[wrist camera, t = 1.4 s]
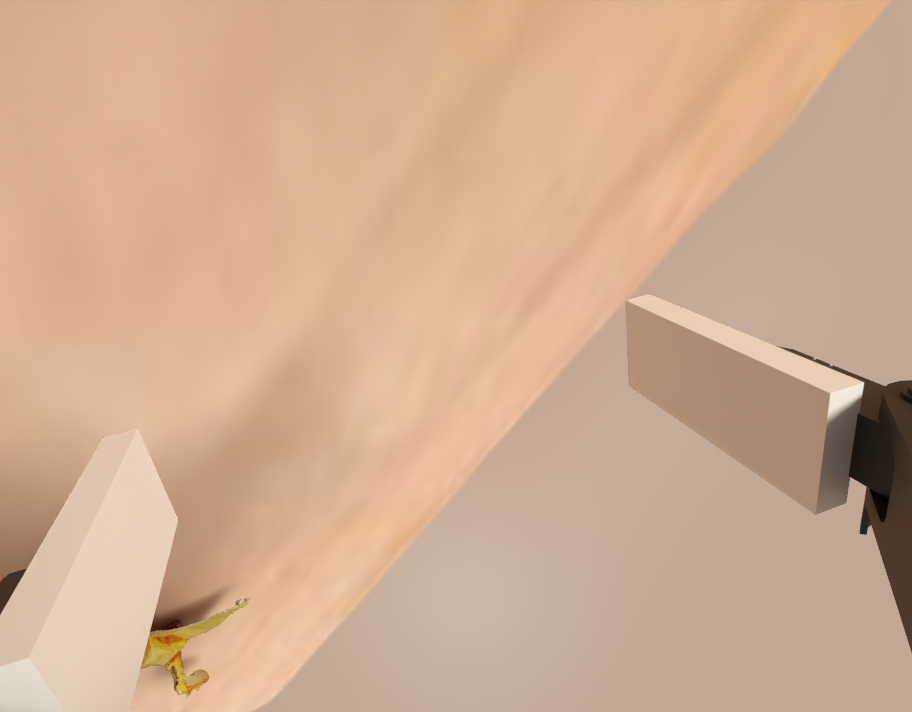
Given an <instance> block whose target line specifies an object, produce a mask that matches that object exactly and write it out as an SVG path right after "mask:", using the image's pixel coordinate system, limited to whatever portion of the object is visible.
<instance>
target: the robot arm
mask: <svg viewBox="0 0 912 712" xmlns="http://www.w3.org/2000/svg"><path fill="white" fill-rule="evenodd" d="M626 325H627V352H628V379H629V386H630V387H632V388H633V389H634V390H636V391H637V392H639V393H640V394H642V395H643V396H645V397H646V398H647V399H649V400H650V401H652V402H653V403H655V404H656V405H658V406H659V407H661V408H662V409H663V410H665V411H666V412H668V413H669V414H671V415H672V416H673V417H675V418H677V419H678V420H679V421H681V422H682V423H684V424H685V425H686V426H688V427H690V428H691V429H693V430H694V431H695V432H697V433H698V434H700V435H701V436H702V437H704V438H705V439H707V440H708V441H710V442H711V443H713V444H714V445H716V446H717V447H718V448H720V449H721V450H723V451H724V452H726V453H727V454H728V455H730V456H731V457H733V458H734V459H736V460H737V461H739V462H740V463H741V464H743V465H745V466H746V467H748V468H749V469H750V470H752V471H753V472H754V473H756V474H757V475H759V476H760V477H762V478H763V479H765V480H766V481H768V482H769V483H770V484H772V485H773V486H775V487H776V488H778V489H779V490H781V491H782V492H783V493H785V494H786V495H788V496H789V497H791V498H792V499H794V500H795V501H796V502H798V503H799V504H801V505H802V506H804V507H805V508H807V509H808V510H809V511H811V512H813V513H814V514H815V515H816V514H818V513H821V512H824V511H826V510H829V509H832V508H834V507H837V506H840V505H842V504H845V503H846V500H847V494H848V487H849V481H850V477H851V478H853V479H855V480H857V481H858V482H860V483H862V484H863V485H865V486H867V488H866V494H865V501H864V507H863V513H862V519H861V525H860V534H865V535H866V534H867V528H868V527H869V526H870V525H872V528H873V531H874V534H875V538H876V540H877V544H878V547H879V550H880V553H881V556H882V560H883V563H884V566H885V569H886V572H887V576H888V579H889V582H890V585H891V588H892V591H893V595H894V598H895V601H896V604H897V607H898V610H899V614H900V616H901V620H902V623H903V626H904V629H905V633H906V636H907V639H908V642H909V645H910V648H911V652H912V380H911V381H898V382H894V383H891V384H888V385H887V386H883V385H880V384H878V383H875V382H873V381H870V380H868V379H865V378H863V377H860V376H858V375H855V374H853V373H850V372H848V371H845V370H843V369H840V368H838V367H835V366H830V364H828V363H826V362H823V361H821V360H818V359H816V360H814V358H813V357H810V356H808V355H806V354H803V353H801V352H798V351H796V350H793V349H788V348H782V347H778V346H774V345H772V344H769V343H767V342H764V341H762V340H760V339H757V338H755V337H752V336H750V335H747V334H745V333H742V332H740V331H738V330H735V329H733V328H730V327H728V326H725V325H723V324H721V323H718V322H716V321H713V320H711V319H708V318H706V317H703V316H701V315H699V314H696V313H694V312H691V311H689V310H686V309H684V308H682V307H679V306H677V305H674V304H672V303H669V302H667V301H664V300H662V299H660V298H657V297H655V296H652V295H650V294H648V295H644V296H640V297H636V298H632V299H629V300H626ZM177 523H178V518H177V516H176V514H175V511H174V509H173V507H172V505H171V502H170V500H169V498H168V496H167V493H166V491H165V489H164V486H163V484H162V482H161V480H160V477H159V475H158V473H157V471H156V468H155V466H154V464H153V462H152V459H151V457H150V455H149V453H148V450H147V448H146V446H145V444H144V441H143V439H142V437H141V434H140V432H139V430H138V428H137V429H133V430H129V431H126V432H122V433H118V434H114V435H110V436H107V437H103V438H102V440H101V442H100V444H99V445H98V447H97V449H96V451H95V452H94V454H93V456H92V457H91V459H90V461H89V463H88V464H87V466H86V468H85V470H84V471H83V473H82V475H81V476H80V478H79V480H78V482H77V483H76V485H75V487H74V489H73V490H72V492H71V494H70V495H69V497H68V499H67V501H66V502H65V504H64V506H63V508H62V509H61V511H60V513H59V514H58V516H57V518H56V520H55V521H54V523H53V525H52V527H51V528H50V530H49V532H48V533H47V535H46V537H45V539H44V540H43V542H42V544H41V546H40V547H39V549H38V551H37V552H36V554H35V556H34V558H33V559H32V561H31V563H30V565H29V566H28V568H27V569H24V570H21V571H18V572H14V573H11V574H8V575H7V576H6V577H5V578H4V579H3V580H2V581H1V582H0V712H130V708H131V704H132V700H133V696H134V693H135V689H136V685H137V681H138V677H139V673H140V669H141V665H142V661H143V657H144V653H145V649H146V645H147V641H148V637H149V634H150V630H151V626H152V622H153V618H154V614H155V610H156V606H157V602H158V598H159V594H160V590H161V586H162V582H163V578H164V575H165V571H166V567H167V563H168V559H169V555H170V551H171V547H172V543H173V539H174V535H175V531H176V527H177Z"/></svg>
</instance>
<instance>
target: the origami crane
mask: <svg viewBox="0 0 912 712" xmlns="http://www.w3.org/2000/svg"><path fill="white" fill-rule="evenodd" d="M240 600H241V599H239V600H238V601H236V606H234V607H232V608H230V609H227V610H226V611H224V612H220V613H218V614H216V615H214V616H212V617H210V618H207V619H205V620H203V621H199V622H196V623H192V624H190V625H188V626H183V624H182V622H180V621H178V620H177V621H173V623H171V627H167V628H168V630H164V631H162V630H157V631H152V632H150V634H149V637H148V641H147V645H146V649H145V653H144V657H143V661H142V665H141V669H142V668H146V667H148V666H150V665H154V666H166V665H167V664H168V665H169V666H168V667H167V668H166V670H167V671H170V669H171V674H172V676H173V679H174V690H175V691H176V692H177V693H178V695H181V694H184V693H186V695H187V698H188V695H190V693H191V691H192V690H193V689H195V688H197V689H196V690H199V689H200V686H201V685H202V684H203V683H206V682H207V681H208V679H209V675H208V673H207V672H206V671H204V670H201V669H200V670H197V671H196V672H194V673H193V674H191V675H189V677H187V676H186V675H185V674H184V673H183V664H182V661H181V651H180V650H181V649H182V648H183V646H184V645H185V644H186V643H187V640H188V639H190V638H192V637H195V636H197V635H199V634H201V633H205V632H208V631H209V630H211V629H212V628H214V627H216V626H218V625H219V624H220V623H222V621H224V620H225V619H226V618H227V617H228V616H230V614H233V613H234V612H235V611H236V610H238V609H240V608H243V607H244V606H245V605H247V604H248V601H249V600H250V598H249V599H244V600H245V601H244V602H243V603H242V604H239V605H238V603H239V601H240ZM179 624H181V626H180V627H179V628H178V627H177V625H179Z"/></svg>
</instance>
